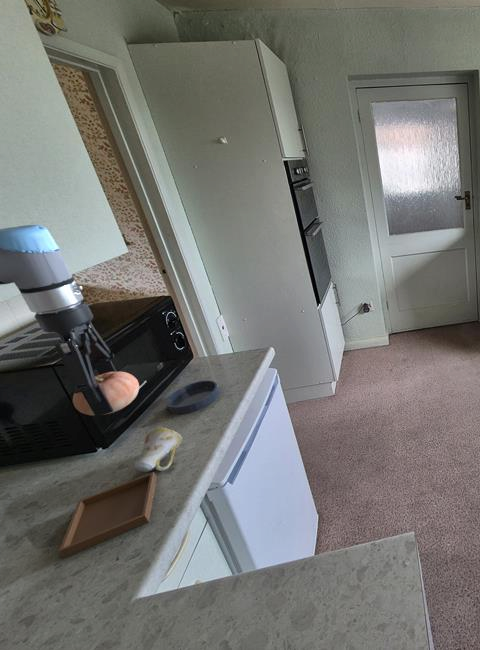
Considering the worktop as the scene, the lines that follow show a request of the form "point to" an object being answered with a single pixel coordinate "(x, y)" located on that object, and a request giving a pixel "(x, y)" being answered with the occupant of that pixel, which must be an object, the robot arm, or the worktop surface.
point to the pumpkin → (111, 391)
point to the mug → (158, 449)
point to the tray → (109, 514)
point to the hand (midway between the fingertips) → (110, 399)
